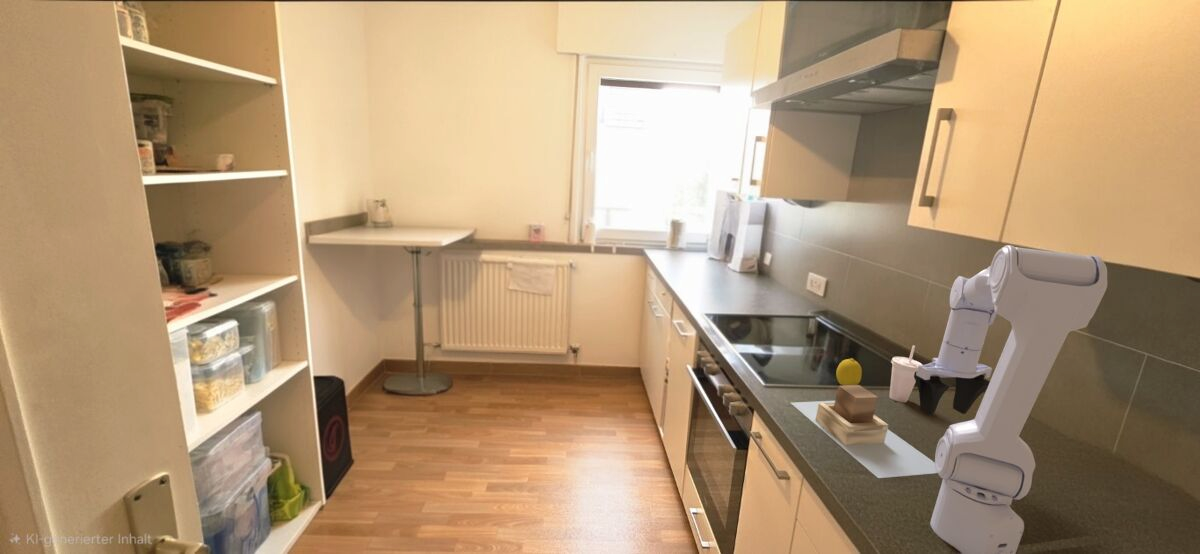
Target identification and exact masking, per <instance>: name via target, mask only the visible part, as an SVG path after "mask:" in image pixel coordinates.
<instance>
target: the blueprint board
mask: <svg viewBox="0 0 1200 554" xmlns="http://www.w3.org/2000/svg"><path fill="white" fill-rule="evenodd" d="M819 403H835V400H821V401H819V400H818V401H817V400H816V401H802V402H801V401H797V402H790V405H792V406H793V407H794V408H796V409H797V410H798V411H799V412H801V414H802V415H803V416H804V417H806V418H807V419H809V421H811V422H812V423H813V424H814V425H815V426H816V427H818V428H819V429H820V430H821V431H822V432H823V433H824V434H826V435H827V436H828V437H830V438H831V440H833V441H834V442H835V443H836V444H837V445H839V446H840V447H841V448H842V449H843V450H845V451H846V452H847V453H848V454H849V455H850V456H852V458H853V459H855V460H856V461H857V462H858V463H860V464H861V465H862V466H863V467H865V468H866V469H867V470H868V471H869V472H870V473H871V474H872V475H874V477H876V478H877V479H887V478H896V477H897V478H898V477H909V476H920V475H923V476H924V475H930V474H931V475H933V474H938V472H937V471H936V468H935V461H934V460H932V459H931V458H929V457H928V456H926V455H925V454H923V453H922V452H921V451H919V450H918V449H916V448H915V447H914V446H912V445H911V444H909V443H908V442H907V441H905V440H904V439H902V438H901V437H900V436H898V435H897V434H896V433H894V432H893V431H891V430H890V429H888V430H887V434H886V438H885V441H884V443H875V444H860V445H846V446H845V445H844V444H843V443H841V442H840V441H839V440H838V439H837V438H836V437H834V436H833V435H832V434H831V433H830V432H828V431H827V430H826V429H825V428H824V427H823V426H821V425H820V424H819V423H818V422H817V421H815V419H816V415H817V410H818V405H819Z"/></svg>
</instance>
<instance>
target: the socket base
mask: <svg viewBox="0 0 1200 554" xmlns="http://www.w3.org/2000/svg"><path fill="white" fill-rule="evenodd" d="M834 404H835V403H819V405H818V410H817V415H816V419H815V421H817V422H818V423H819V424H820V425H821V426H823V427H824V428H825V429H826V430H827V431H828V432H830V433H831V434H832V435H833V436H834V437H836V438H837V439H838V440H839V441H840V442H841V443H843V444H844V445H845V446H846V445H860V444H875V443H884V441H885V438H886V434H887V430H889V424H888V423H886V422H885V421H884V420H882V419H881V418H880V417H878V416H877V415H876V414H874V415H873V420H872V422H867V423H849V422H848V421H846V420H845V419H844V418H843V417H841V416H840V415H839V414H837V413H836V412H835V411H833V409H834Z"/></svg>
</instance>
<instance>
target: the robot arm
mask: <svg viewBox="0 0 1200 554" xmlns="http://www.w3.org/2000/svg"><path fill="white" fill-rule="evenodd" d="M1107 288H1108V267H1107V265H1106V263H1105V262H1104V260H1103V258H1101V256H1099V255H1096V254H1095V255H1094V254H1089V255H1088V254H1087V255H1085V254H1076V253H1067V252H1060V251H1049V250H1043V249H1033V248H1024V247H1018V246H1017V247H1015V246H1014V245H1010V244H1007V245H1004V246H1003V247H1001V248H1000V249H998V251H997V252H996V253H995V254H994V256H993V258H992V260H991V264H990V266H988V267H987V268H984V269H983V270H981V271H980V272H978V273H977V274H975V275H974V276H972V277H970V278H966V277H964V276H961V275H958V277H957V278H955V280H954V282H953V284H952V287H951V289H950V294H949V307H950V313H949V315H948V316H949V317H948V320H947V325H946V328H945V332H944V335H943V339H942V342H941V345H940V348H939V353H938V357H933V358H932V362H929V363H926V364H922V365H919V366H918V369H917V371H916V372H915V374H914V378H915V380H916V382H915V384H916V386H917V389H918V390H917V391H918V394H919V405H920V406H919V410H920V411H921V412H922V413H924V414H925V415H927V416H929V417H932V416H934V413H936V410H937V407H938V404H939V402H940V400H941V398H942V397H943V395H944V394H945V393H946V391H947V390H948V389H949V388H950V386H949V385H947V384H946V383H942V380H940V379H941V378H954V379H955V391H954V397H953V402H952V409H953V410H955V411H957V412H959V413H961V414H962V415H967V413H968V411H969V410H970V409H971V407H972V406H973V404H975V401H976V400H977V399H978V398H980V396H981V395H982V394H983V393H984V392H985V393H984V395H983V397H982V400H981V403H980V405H979V407H978V409H977V411H976V415H975V417H974V419H971V420H967V421H961V422H957V423H953V424H950V425H949V426H948V428H947V429H946V431H945V433H944V435H943V436H942V437H940V438H939V439H938V442H937V445H936V449H935V457H934V462H935V468H936V471H937V472H938V473H937V474H938V476H939V477H940V478H941V479H942V482H941V486H940V487H939V488H940V489H939V491H938V496H937V499H936V502H935V506H934V509H933V511H932V516H931V519H930V523H929V524H930V527H931V528H932V530H933V532H934V533H935V534H936V535H937V536H938V538H940V539H941V540H943V541H944V542H946V543H947V544H948V545H950V546H952V547H954V548H955V549H956V550H957V551H959V552H958V553H957V552H956V554H1016V553H1017V550H1018V547H1019V544H1020V542H1021V540H1022V537H1023V533H1024V530H1025V522H1024V519H1022V518H1021V517H1020V515H1018V514H1017V513H1016V512H1015V511H1014V510H1013V509H1012V508H1011V505H1012V502H1013V500H1021V499H1023V498H1024V497H1026V496H1027V495H1028V493H1029V491H1030V490H1031V486H1032V480H1033V474H1034V471H1035V469H1036V461H1035V458H1034V457H1035V456H1034V454H1033V451H1032V450H1031V447H1030V445H1028V444H1027V443H1026V442H1025V441H1024V440H1023V439H1022V438H1021V437H1020V434H1021V432H1022V430H1023V428H1024V426H1025V424H1026V422H1027V420H1028V418H1029V415H1030V414H1031V411H1032V409H1033V407H1034V405H1035V403H1036V401H1037V398H1038V397H1039V395H1040V393H1041V390H1042V388H1043V387H1044V385H1045V382H1046V380H1047V378H1048V376H1049V373H1050V372H1051V370H1052V367H1053V366H1054V363H1055V361H1056V359H1057V357H1058V355H1059V353H1060V351H1061V349H1062V347H1063V345H1064V342H1065V341H1066V339H1067V337H1068V334H1069V333H1070V332H1074V331H1077V330H1080V329H1084V328H1087V327H1088V325H1089V323H1090V321H1091V319H1092V318H1093V317H1094V315H1095V313H1096V311H1097V309H1098V307H1099V306H1100V303H1101V301H1102V298H1103V297H1104V295H1105V293H1106V290H1107ZM997 315H998V316H1001V317H1002V318H1004V319H1005V320H1007V321H1008V322H1010V325H1011V330H1010V333H1009V334H1008V335H1009V336H1008V337H1007V340H1006V342H1005V344H1004V347H1003V350H1002V352H1001V355H1000V357H999V360H998V362H997V364H996V367H995V369H994V372H993V373H992V371H993V368H992V367H991V366H988V365H986V364H982V363H979V360H980V357H981V354H982V351H983V347H984V343H985V341H986V338H987V337H986V336H987V333H988V329H989V327H990V326H992V325H993V324H994V322H995V319H996V317H997ZM991 374H992V376H991ZM990 377H991V379H990V380H988V379H989V378H990Z"/></svg>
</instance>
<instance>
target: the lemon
mask: <svg viewBox="0 0 1200 554" xmlns="http://www.w3.org/2000/svg"><path fill="white" fill-rule="evenodd" d="M835 372H836V373H835V375H836V380H837V382H838V383H839V385H840V386H847V385H859V383H860V382H861V380H862V372H863V371H862V367H861V365H860V363H859V362H858V361H856V360H855V359H854V358H852V357H851V358H848V359H844V360H841V362H839V364H838V366H837V368H836V371H835Z"/></svg>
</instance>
